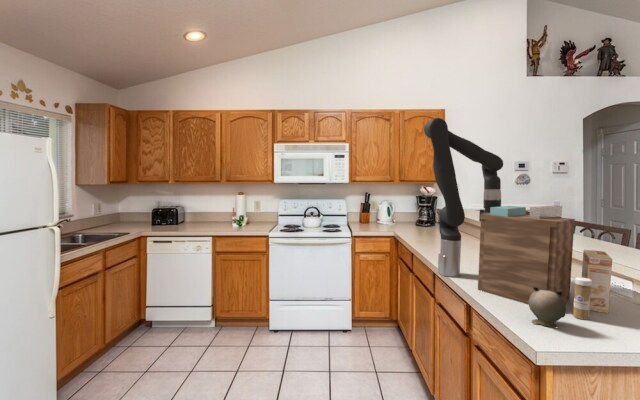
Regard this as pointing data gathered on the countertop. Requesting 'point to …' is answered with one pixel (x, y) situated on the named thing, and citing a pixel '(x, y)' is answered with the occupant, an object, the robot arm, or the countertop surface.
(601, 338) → the countertop surface
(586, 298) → the sprinkles bottle
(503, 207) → the teal base block
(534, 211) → the metal bar
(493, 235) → the walnut shelf
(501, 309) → the countertop surface
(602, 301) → the coffeecake box
